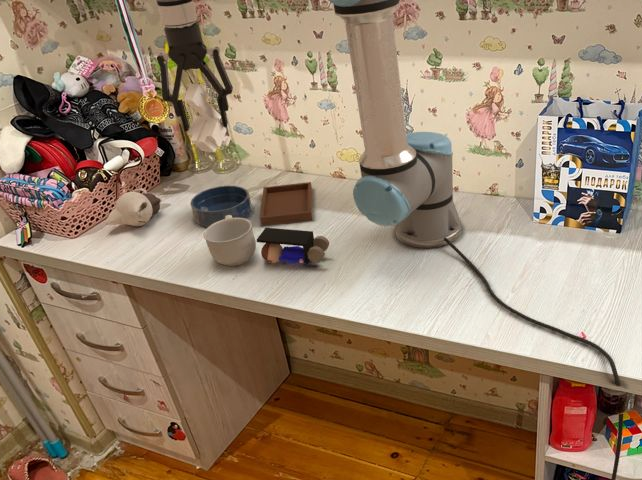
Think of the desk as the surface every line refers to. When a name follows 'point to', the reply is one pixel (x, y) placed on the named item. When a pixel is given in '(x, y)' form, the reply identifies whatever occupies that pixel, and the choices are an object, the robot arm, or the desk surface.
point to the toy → (134, 208)
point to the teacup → (231, 240)
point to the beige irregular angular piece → (205, 121)
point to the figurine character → (295, 254)
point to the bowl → (220, 204)
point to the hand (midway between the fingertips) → (206, 126)
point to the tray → (286, 204)
